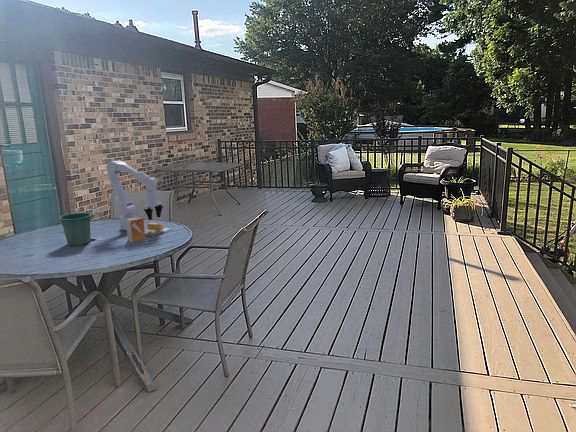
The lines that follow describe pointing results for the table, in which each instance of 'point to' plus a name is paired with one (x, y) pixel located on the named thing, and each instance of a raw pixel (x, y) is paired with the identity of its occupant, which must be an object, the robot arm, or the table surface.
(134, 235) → the small box
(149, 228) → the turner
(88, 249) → the table surface
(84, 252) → the table surface
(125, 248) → the table surface
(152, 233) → the tool board
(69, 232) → the flower pot
